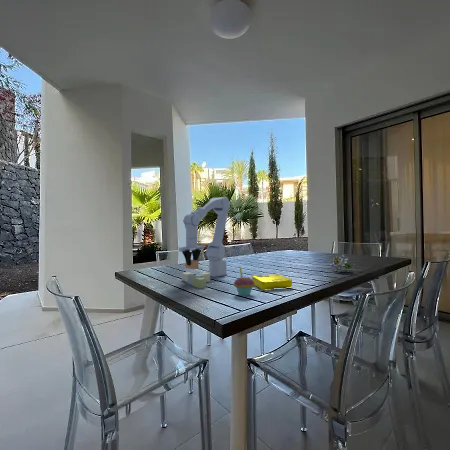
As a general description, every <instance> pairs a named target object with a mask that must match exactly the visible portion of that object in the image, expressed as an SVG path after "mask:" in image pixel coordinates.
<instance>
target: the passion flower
mask: <svg viewBox="0 0 450 450" xmlns="http://www.w3.org/2000/svg"><path fill="white" fill-rule="evenodd" d="M344 257H345V254H342V255H340V256H334V257H333V258H332V259H333V260H332V261H331V263H329V266H332V269H333V268H336V269H337V270H338V269H340V270H341V269H342V268H343V267H345V269H347V268H348V269H350V268H353V267H354V266H355V263H354V262H352V265H353V267H352V266H351V265H350V264H351V262H350V263H348V260H349V257H346V258H344ZM350 270H351V269H350Z"/></svg>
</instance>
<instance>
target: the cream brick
mask: <svg viewBox="0 0 450 450" xmlns="http://www.w3.org/2000/svg"><path fill="white" fill-rule="evenodd" d="M202 278H205V279H206V283H210V282H211V276H210V272H209V271H203V272H202Z"/></svg>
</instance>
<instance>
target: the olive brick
mask: <svg viewBox="0 0 450 450" xmlns="http://www.w3.org/2000/svg"><path fill="white" fill-rule="evenodd" d="M191 286H192V287H195V288H196V289H203V288H206V287H207V282H206V279H205V278H203V277H202V278H201V277H195V278H192V285H191Z"/></svg>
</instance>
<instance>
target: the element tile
mask: <svg viewBox="0 0 450 450" xmlns="http://www.w3.org/2000/svg"><path fill="white" fill-rule="evenodd" d="M251 279H252V280H253V281H254V284H255V286H254V287H256V286H257V287H259V288H260V289H259V288H258V289H259V290H261V289H274V288H283V287H291V286H292V287H293V280H292V279H291V278H290V277H287V276H284V275H281V274H280V273H276V274H275V273H274V274H272V273H271V274H257V275H252V278H251ZM257 287H256V288H257Z"/></svg>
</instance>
